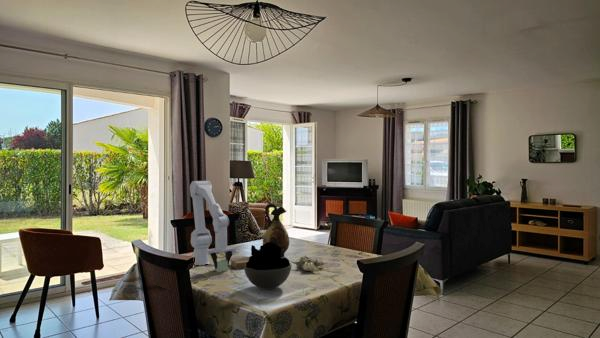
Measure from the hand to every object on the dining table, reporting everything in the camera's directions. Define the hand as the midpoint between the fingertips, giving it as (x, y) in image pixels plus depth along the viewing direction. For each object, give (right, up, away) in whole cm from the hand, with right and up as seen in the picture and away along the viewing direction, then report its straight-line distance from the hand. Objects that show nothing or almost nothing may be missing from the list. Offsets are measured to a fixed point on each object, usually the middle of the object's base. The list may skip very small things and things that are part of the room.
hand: (221, 267), depth 201 cm
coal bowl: (+26, -2, -30) cm, 39 cm away
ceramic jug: (+25, -1, +32) cm, 40 cm away
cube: (0, -2, 0) cm, 2 cm away
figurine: (+44, -2, 0) cm, 44 cm away
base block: (+10, -1, +9) cm, 14 cm away
